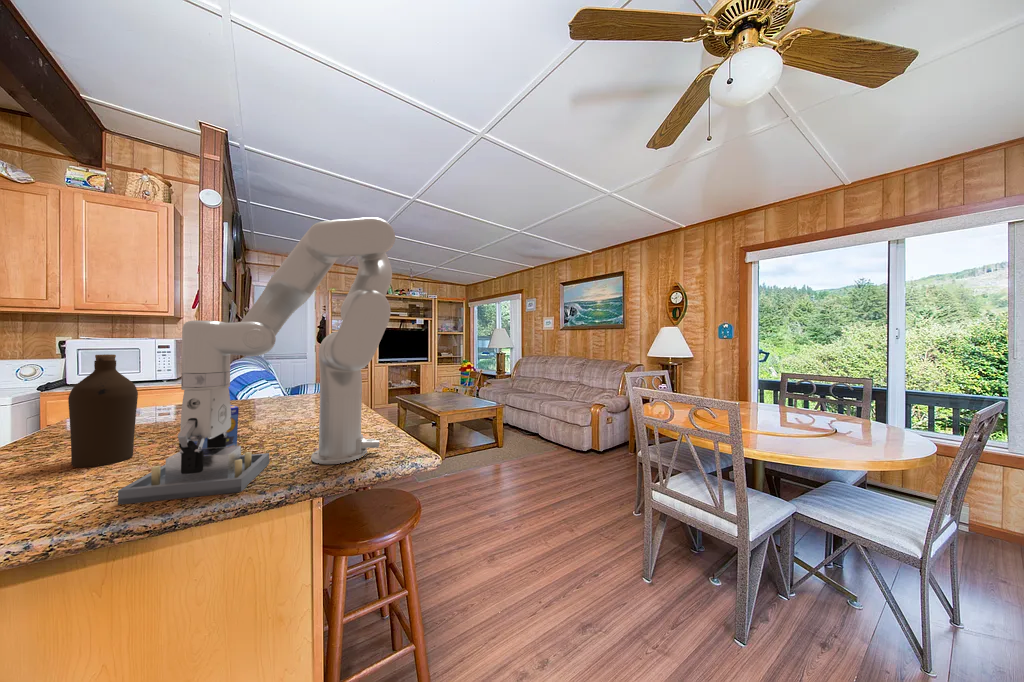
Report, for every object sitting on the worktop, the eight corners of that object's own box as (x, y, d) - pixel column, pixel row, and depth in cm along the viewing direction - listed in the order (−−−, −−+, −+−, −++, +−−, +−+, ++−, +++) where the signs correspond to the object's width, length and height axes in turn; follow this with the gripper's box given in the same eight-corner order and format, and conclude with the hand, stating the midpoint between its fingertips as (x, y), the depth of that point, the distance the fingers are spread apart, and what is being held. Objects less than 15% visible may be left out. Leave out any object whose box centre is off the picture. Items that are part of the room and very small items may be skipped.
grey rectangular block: (240, 468, 76) (240, 445, 76) (227, 479, 70) (228, 453, 70) (183, 473, 73) (183, 449, 73) (165, 484, 67) (165, 458, 67)
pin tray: (269, 463, 82) (269, 444, 82) (241, 491, 67) (241, 468, 67) (172, 471, 76) (172, 451, 76) (117, 504, 61) (118, 479, 61)
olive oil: (147, 455, 86) (149, 354, 86) (86, 471, 75) (88, 356, 75) (118, 451, 88) (120, 353, 88) (54, 465, 78) (57, 354, 78)
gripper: (207, 385, 64) (206, 478, 64) (245, 376, 81) (244, 449, 81) (156, 386, 62) (154, 482, 62) (205, 376, 78) (204, 452, 78)
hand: (205, 464), depth 71 cm, fingers open, 9 cm apart
